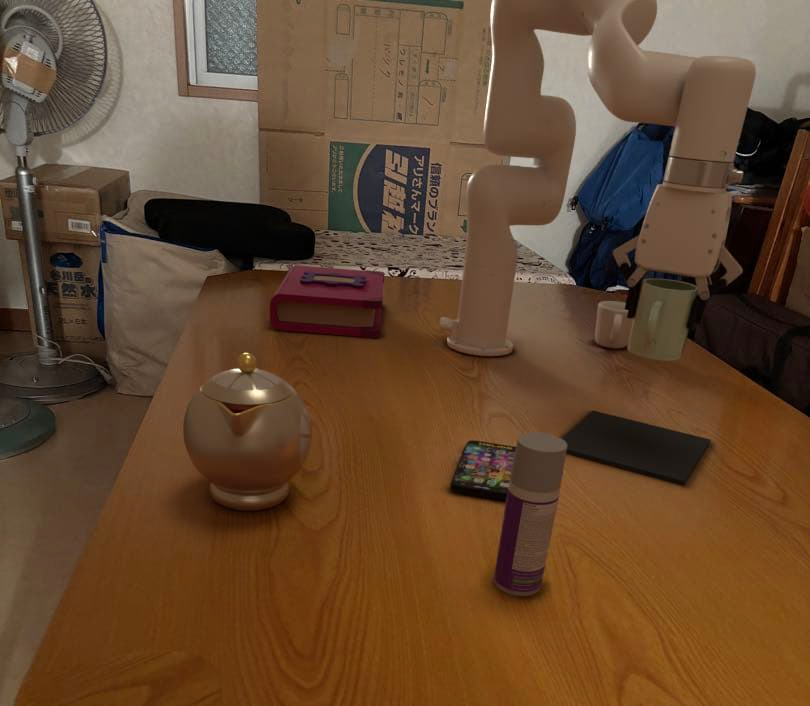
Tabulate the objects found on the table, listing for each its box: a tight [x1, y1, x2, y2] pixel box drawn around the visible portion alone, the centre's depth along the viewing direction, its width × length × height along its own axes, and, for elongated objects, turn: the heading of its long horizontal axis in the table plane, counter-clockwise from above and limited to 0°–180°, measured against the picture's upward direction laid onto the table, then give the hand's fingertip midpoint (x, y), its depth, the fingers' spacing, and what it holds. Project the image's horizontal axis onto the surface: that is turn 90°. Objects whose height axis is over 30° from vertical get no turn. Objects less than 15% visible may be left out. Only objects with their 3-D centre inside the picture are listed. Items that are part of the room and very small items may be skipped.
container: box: [493, 431, 567, 597], centre depth 72 cm, size 5×5×15 cm
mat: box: [561, 410, 712, 486], centre depth 110 cm, size 18×18×1 cm
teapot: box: [182, 352, 313, 512], centre depth 85 cm, size 18×14×16 cm
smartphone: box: [450, 439, 516, 501], centre depth 98 cm, size 8×1×15 cm
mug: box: [626, 278, 699, 362], centre depth 102 cm, size 10×7×9 cm
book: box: [269, 264, 385, 339], centre depth 158 cm, size 21×28×8 cm
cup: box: [594, 300, 634, 350], centre depth 154 cm, size 11×8×8 cm
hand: (661, 321), depth 103 cm, fingers closed on mug, 7 cm apart
